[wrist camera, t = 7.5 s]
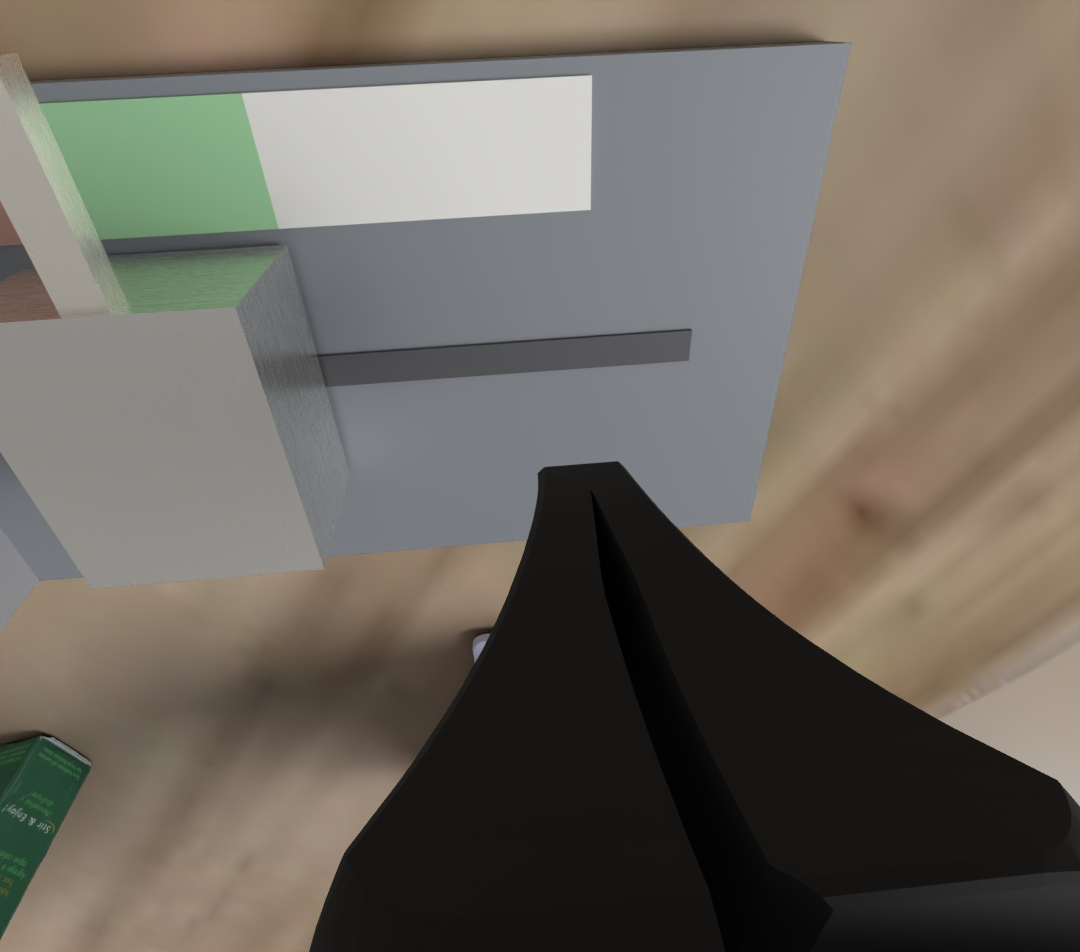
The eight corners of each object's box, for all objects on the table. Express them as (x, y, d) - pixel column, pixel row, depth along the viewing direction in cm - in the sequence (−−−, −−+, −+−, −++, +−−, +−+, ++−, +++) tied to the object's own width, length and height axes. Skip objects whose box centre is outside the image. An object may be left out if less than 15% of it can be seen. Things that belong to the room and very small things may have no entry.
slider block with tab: (350, 475, 17) (324, 569, 14) (157, 490, 16) (91, 589, 14) (231, 40, 11) (147, 48, 8) (-65, 54, 11) (-258, 67, 8)
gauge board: (738, 500, 20) (805, 623, 16) (-45, 565, 19) (-187, 714, 15) (827, 41, 13) (990, 52, 9) (-428, 104, 12) (-903, 148, 8)
